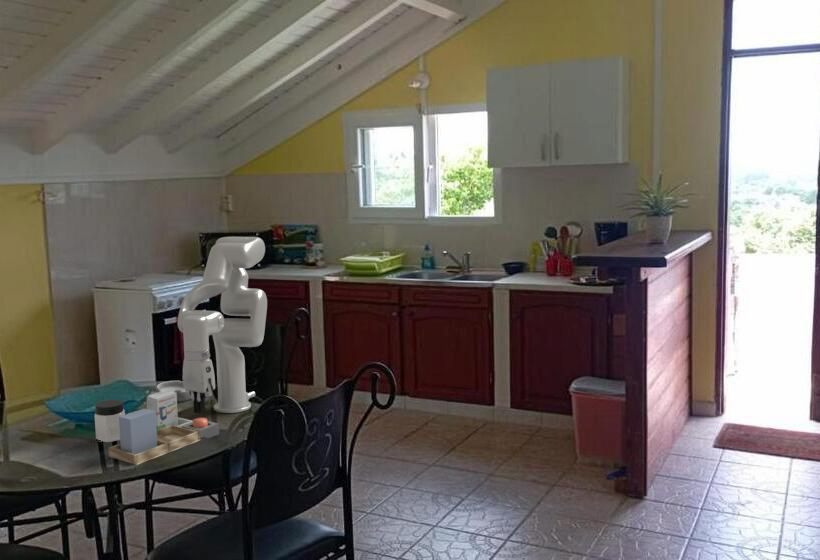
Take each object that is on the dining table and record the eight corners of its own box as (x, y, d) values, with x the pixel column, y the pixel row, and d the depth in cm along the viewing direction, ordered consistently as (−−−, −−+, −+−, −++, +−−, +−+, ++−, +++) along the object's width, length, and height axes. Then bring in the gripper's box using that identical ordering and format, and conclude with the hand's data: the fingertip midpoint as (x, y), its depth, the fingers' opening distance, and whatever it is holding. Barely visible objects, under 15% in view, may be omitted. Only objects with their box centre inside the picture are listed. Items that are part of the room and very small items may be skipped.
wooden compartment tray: (172, 436, 262) (171, 424, 261) (201, 443, 255) (200, 431, 254) (107, 459, 242) (106, 447, 241) (137, 468, 235) (136, 456, 234)
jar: (99, 447, 252) (97, 409, 250) (93, 440, 259) (90, 402, 257) (129, 441, 257) (127, 404, 255) (122, 434, 263) (120, 398, 262)
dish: (190, 403, 296) (189, 389, 296) (151, 403, 297) (150, 390, 296) (200, 391, 311) (200, 378, 310) (163, 392, 311) (163, 379, 310)
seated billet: (146, 447, 248) (144, 408, 247) (157, 450, 246) (155, 411, 244) (121, 456, 241) (118, 416, 239) (132, 459, 238) (130, 419, 236)
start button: (200, 429, 265) (200, 417, 264) (210, 431, 262) (210, 419, 262) (190, 433, 261) (189, 420, 260) (200, 435, 259) (199, 423, 258)
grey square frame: (201, 429, 267) (200, 419, 267) (219, 434, 263) (218, 423, 263) (182, 437, 261) (181, 426, 260) (200, 441, 256) (199, 430, 256)
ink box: (168, 424, 273) (166, 389, 271) (179, 426, 271) (177, 391, 269) (147, 431, 266) (145, 396, 264) (158, 434, 263) (156, 398, 262)
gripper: (223, 355, 257) (225, 413, 260) (189, 349, 265) (191, 405, 268) (204, 360, 251) (207, 419, 253) (170, 354, 259) (173, 411, 262)
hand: (199, 412), depth 261 cm, fingers closed
